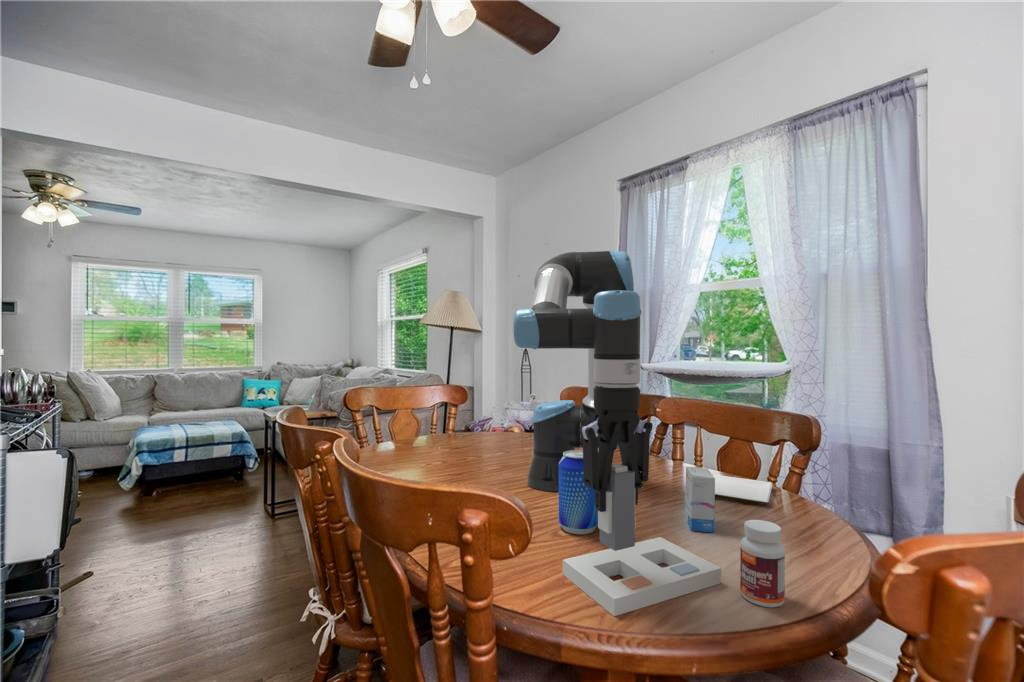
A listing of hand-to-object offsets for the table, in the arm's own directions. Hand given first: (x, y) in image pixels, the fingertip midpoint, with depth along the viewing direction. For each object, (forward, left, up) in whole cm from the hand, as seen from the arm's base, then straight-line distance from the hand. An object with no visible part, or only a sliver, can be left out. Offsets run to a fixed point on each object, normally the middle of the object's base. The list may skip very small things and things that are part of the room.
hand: (616, 527), depth 78 cm
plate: (-26, +59, -10) cm, 65 cm away
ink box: (-13, +33, -10) cm, 37 cm away
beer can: (-23, +8, -10) cm, 26 cm away
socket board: (0, +5, -9) cm, 11 cm away
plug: (0, 0, -3) cm, 3 cm away
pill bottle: (+13, +18, -10) cm, 24 cm away
